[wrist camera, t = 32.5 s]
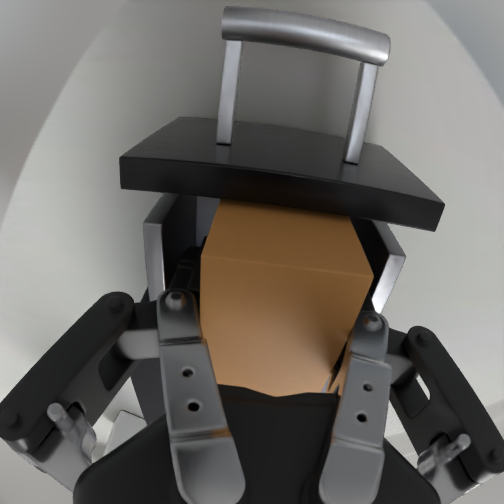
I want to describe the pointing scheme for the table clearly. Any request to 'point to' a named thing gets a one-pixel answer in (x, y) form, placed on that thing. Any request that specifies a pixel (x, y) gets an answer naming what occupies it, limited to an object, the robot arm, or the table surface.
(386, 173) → the drawer
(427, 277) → the table surface
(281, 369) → the cardboard box
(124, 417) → the milk carton
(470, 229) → the table surface
